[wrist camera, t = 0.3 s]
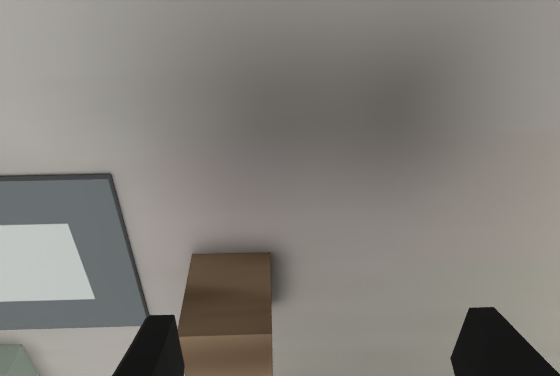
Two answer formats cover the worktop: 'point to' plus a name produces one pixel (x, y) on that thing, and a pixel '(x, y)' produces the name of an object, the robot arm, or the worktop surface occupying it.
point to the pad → (65, 255)
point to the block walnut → (227, 316)
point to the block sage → (15, 361)
